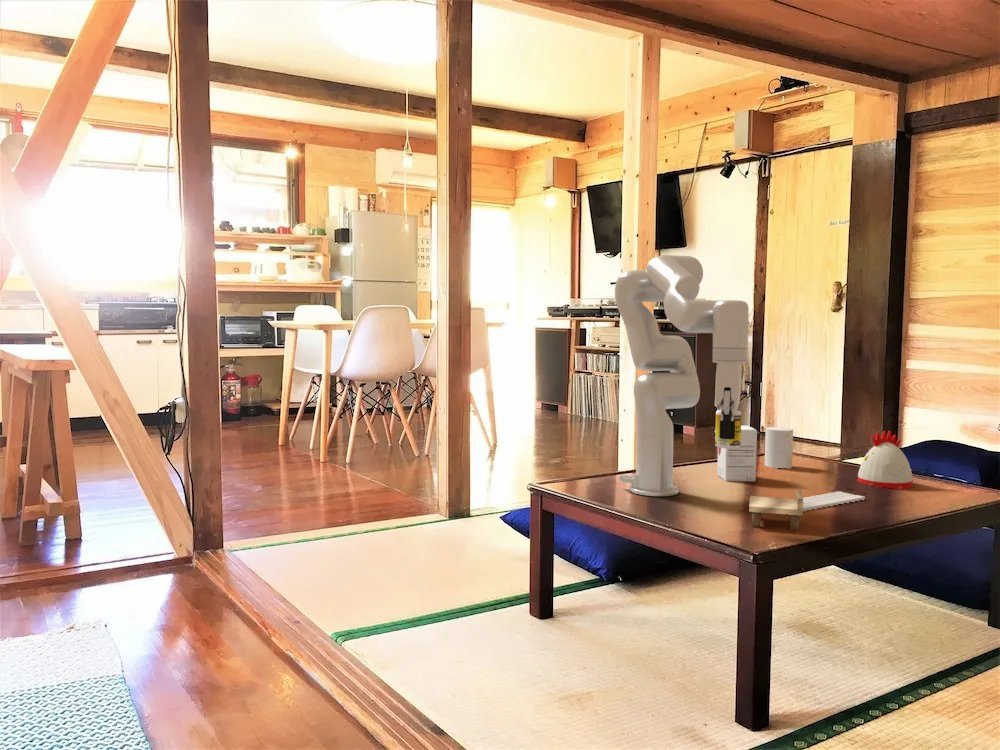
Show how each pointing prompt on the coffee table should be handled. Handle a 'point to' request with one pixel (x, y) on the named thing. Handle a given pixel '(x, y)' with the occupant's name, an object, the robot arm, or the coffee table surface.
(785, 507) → the shelf
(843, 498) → the baseboard
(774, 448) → the cup
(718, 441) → the supplement bottle
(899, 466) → the kitchen timer
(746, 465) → the supplement box
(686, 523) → the coffee table surface
